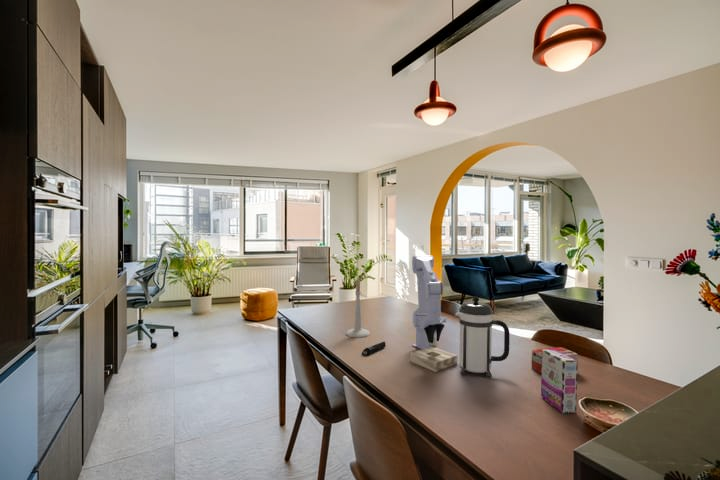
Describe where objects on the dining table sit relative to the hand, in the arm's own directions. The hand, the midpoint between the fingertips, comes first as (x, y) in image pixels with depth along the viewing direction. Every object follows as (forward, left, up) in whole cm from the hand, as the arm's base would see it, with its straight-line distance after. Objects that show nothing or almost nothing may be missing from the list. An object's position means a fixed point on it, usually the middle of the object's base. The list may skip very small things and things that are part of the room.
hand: (433, 341), depth 146 cm
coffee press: (-7, +17, -9) cm, 21 cm away
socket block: (0, 0, -9) cm, 9 cm away
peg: (0, 0, -2) cm, 2 cm away
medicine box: (-32, +36, -9) cm, 48 cm away
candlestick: (+1, -51, -9) cm, 52 cm away
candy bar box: (-4, +48, -9) cm, 49 cm away
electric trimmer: (+11, -26, -9) cm, 30 cm away
